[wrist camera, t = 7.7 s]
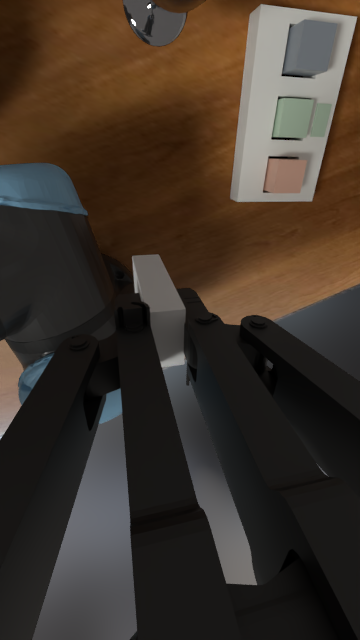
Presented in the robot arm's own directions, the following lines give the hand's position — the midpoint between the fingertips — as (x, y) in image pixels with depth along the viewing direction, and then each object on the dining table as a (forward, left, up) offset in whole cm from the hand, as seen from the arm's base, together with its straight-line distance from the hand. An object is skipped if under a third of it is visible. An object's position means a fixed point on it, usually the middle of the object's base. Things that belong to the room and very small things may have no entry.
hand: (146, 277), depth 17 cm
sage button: (+10, -22, -28) cm, 37 cm away
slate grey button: (+16, -22, -27) cm, 38 cm away
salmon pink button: (+3, -22, -27) cm, 35 cm away
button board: (+10, -22, -29) cm, 38 cm away
